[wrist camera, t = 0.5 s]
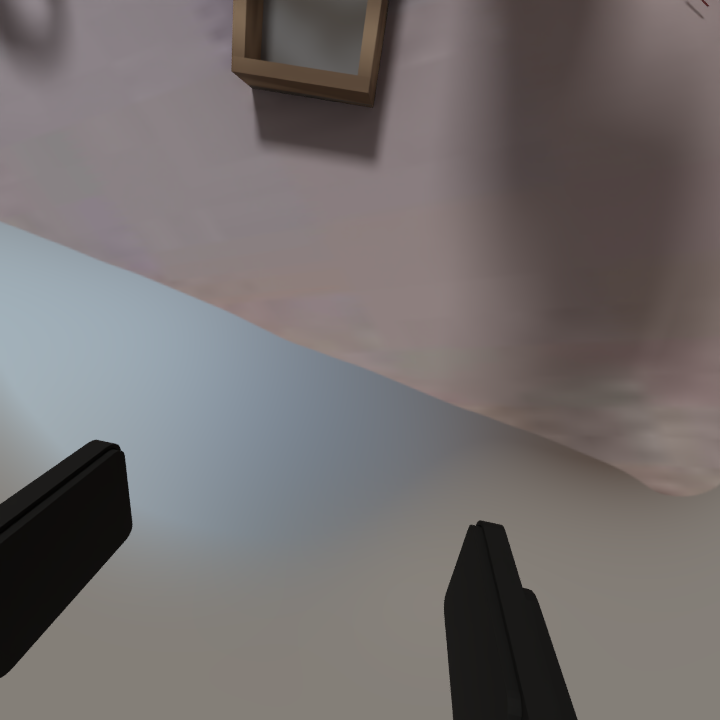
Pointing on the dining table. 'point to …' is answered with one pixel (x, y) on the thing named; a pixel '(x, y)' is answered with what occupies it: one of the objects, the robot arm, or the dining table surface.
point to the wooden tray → (310, 47)
